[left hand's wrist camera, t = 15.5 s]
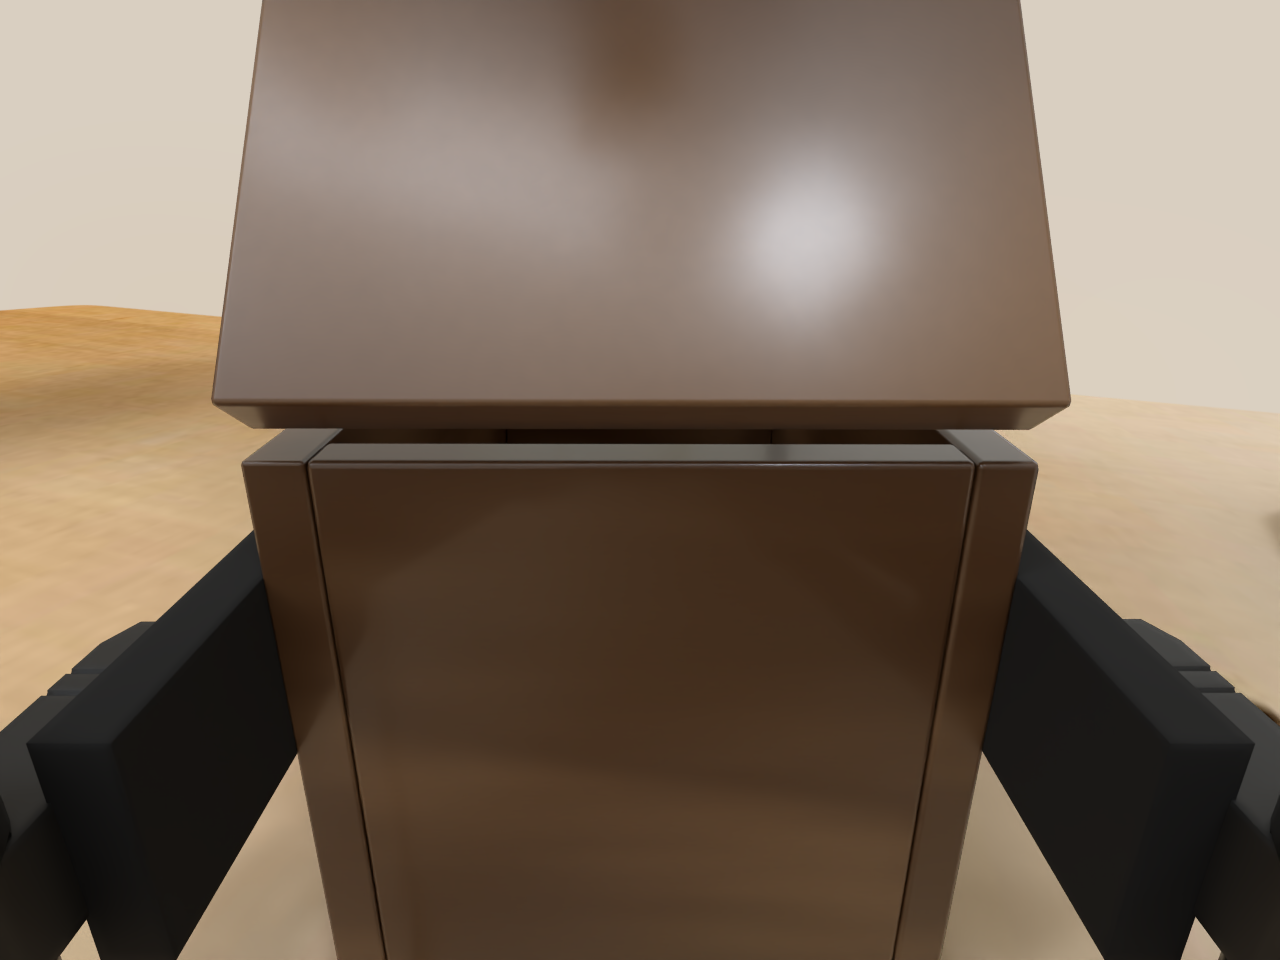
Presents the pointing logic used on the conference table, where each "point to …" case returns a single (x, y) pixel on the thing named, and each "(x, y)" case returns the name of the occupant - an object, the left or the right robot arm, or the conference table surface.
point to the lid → (641, 218)
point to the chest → (639, 682)
